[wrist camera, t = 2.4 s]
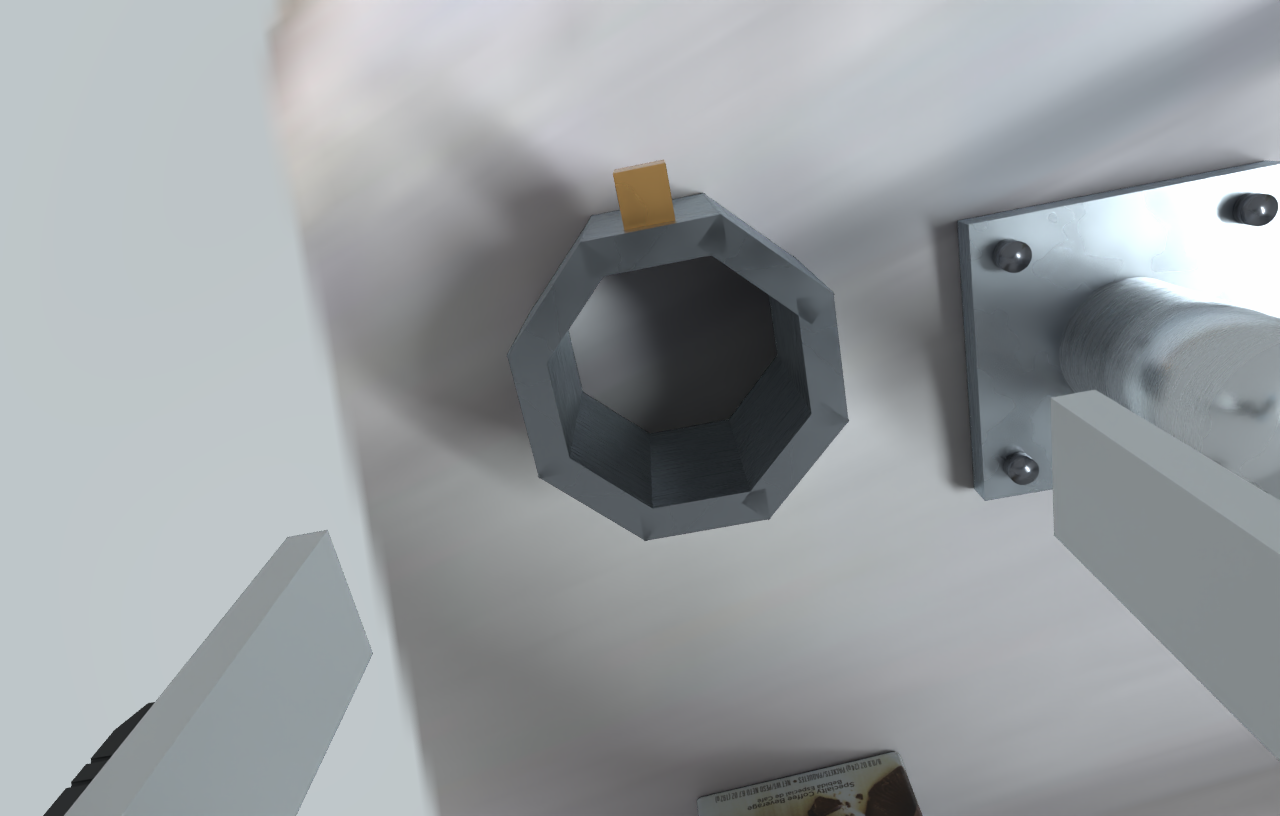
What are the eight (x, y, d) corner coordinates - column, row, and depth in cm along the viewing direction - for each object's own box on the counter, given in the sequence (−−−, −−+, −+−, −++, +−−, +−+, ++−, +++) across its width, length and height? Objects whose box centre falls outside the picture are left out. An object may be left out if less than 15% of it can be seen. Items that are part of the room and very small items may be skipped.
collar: (816, 430, 30) (859, 504, 24) (573, 473, 30) (558, 556, 25) (777, 129, 26) (815, 133, 21) (503, 185, 27) (466, 204, 21)
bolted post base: (1250, 440, 30) (1473, 560, 22) (974, 489, 31) (1093, 622, 23) (1266, 160, 27) (1536, 180, 19) (957, 221, 27) (1090, 265, 19)
